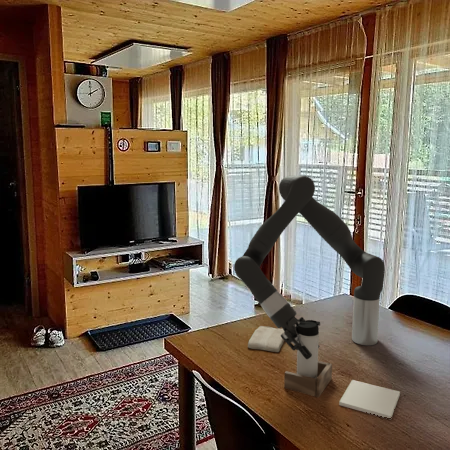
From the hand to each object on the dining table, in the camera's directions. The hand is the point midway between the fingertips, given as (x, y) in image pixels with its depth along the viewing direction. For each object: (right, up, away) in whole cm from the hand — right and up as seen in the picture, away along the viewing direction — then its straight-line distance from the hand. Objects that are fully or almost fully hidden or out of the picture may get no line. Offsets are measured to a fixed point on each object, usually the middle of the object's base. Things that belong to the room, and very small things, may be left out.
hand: (313, 353), depth 138 cm
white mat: (+15, -12, -7) cm, 20 cm away
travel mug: (-1, -10, +3) cm, 11 cm away
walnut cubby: (-1, -10, +3) cm, 10 cm away
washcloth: (-10, -5, +33) cm, 35 cm away
